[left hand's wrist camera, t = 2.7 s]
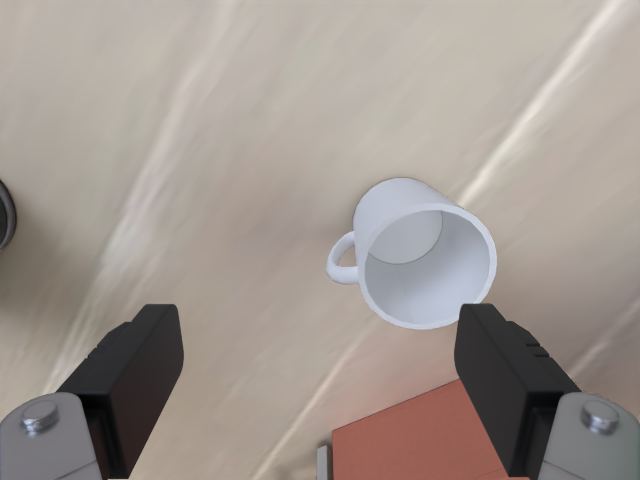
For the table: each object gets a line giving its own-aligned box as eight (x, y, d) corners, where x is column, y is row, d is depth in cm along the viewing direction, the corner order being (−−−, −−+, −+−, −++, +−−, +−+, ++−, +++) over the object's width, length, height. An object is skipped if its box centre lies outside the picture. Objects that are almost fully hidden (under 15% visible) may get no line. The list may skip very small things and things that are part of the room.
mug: (446, 163, 33) (497, 192, 24) (450, 260, 36) (497, 320, 27) (317, 183, 34) (315, 219, 24) (332, 277, 37) (336, 341, 27)
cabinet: (357, 468, 46) (368, 581, 35) (332, 430, 44) (335, 538, 33) (496, 414, 43) (554, 519, 32) (476, 372, 41) (530, 469, 30)
